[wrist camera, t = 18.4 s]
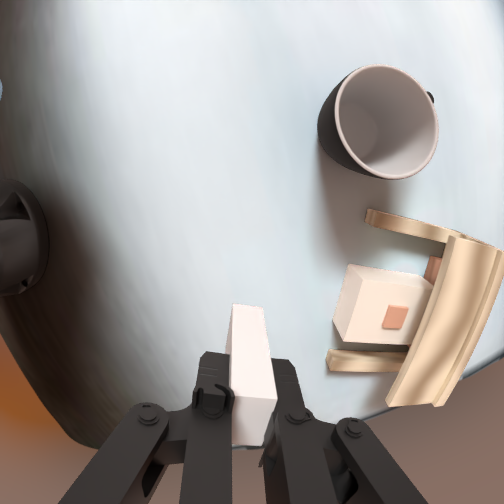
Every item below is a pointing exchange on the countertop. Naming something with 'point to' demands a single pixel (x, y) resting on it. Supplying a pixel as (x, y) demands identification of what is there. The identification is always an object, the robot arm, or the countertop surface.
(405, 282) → the cream white block
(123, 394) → the countertop surface
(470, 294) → the shelf
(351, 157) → the mug
